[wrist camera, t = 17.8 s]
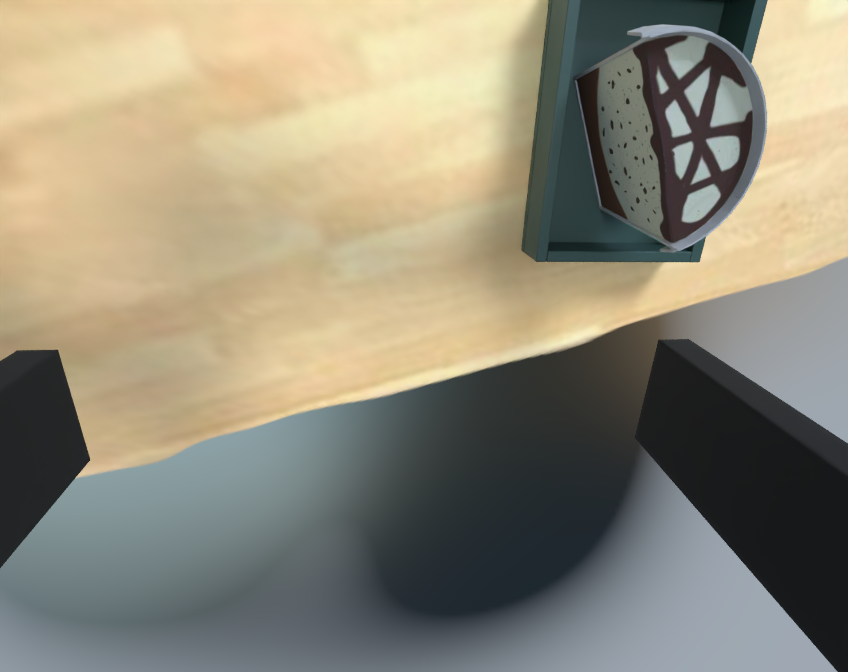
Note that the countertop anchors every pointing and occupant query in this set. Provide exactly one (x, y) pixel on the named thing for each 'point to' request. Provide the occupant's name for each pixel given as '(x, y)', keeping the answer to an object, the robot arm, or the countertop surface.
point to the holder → (563, 132)
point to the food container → (672, 131)
